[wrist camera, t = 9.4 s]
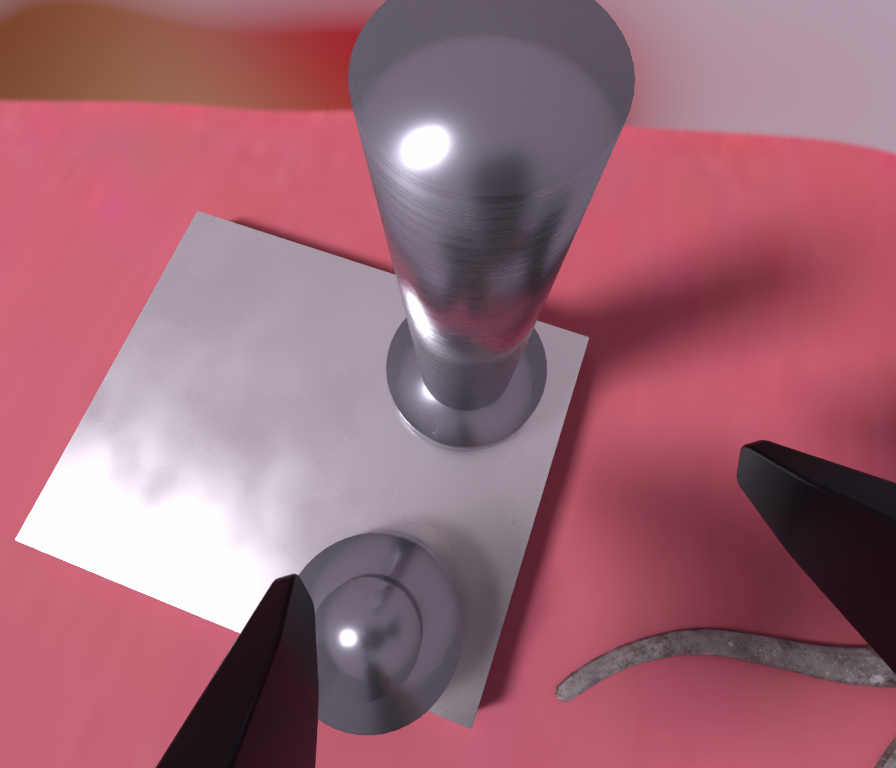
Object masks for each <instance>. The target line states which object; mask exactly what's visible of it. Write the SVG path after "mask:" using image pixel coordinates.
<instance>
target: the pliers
mask: <svg viewBox="0 0 896 768" xmlns="http://www.w3.org/2000/svg"><path fill="white" fill-rule="evenodd" d="M705 654H710V655H717V656H723V657H730V658H736V659H741V660H745V661H750V662H755V663H760V664H764V665H768V666H773V667H777V668H781V669H785V670H790V671H793V672H797V673H801V674H804V675H808V676H812V677H815V678H820V679H825V680H830V681H834V682H839V683H844V684H854V685H865V686H878V687H896V675H895V674H894V672H893V671H892V670H891V669H890V668H889V667H888V666H887V665H886V663H885V662H884V661H883V660H882V659H881V658H880V657H879V655H878V654H877V653H876V652H875V651H874V650H873V649H872V647H871V646H865V647H838V646H827V645H819V644H810V643H804V642H798V641H792V640H786V639H780V638H774V637H768V636H762V635H756V634H750V633H743V632H737V631H729V630H716V629H692V630H678V631H672V632H667V633H663V634H658V635H654V636H649V637H646V638H643V639H640V640H637V641H634V642H631V643H628V644H625V645H622V646H619V647H617V648H615V649H613V650H611V651H609V652H607V653H605V654H603V655H601V656H598V657H596V658H594V659H592V660H591V661H589V662H588V663H586V664H585V665H583V666H582V667H580V668H579V669H577V670H576V671H574V672H573V673H571V674H570V675H569V676H568V677H566V678H565V679H564V680H563V681H562V682H561V683H560V684H558V685H557V688H556V693H555V694H556V696H557V698H558V699H559V700H561V701H565V702H568V701H570V700H571V699H573V698H575V697H576V696H578V695H579V694H581V693H583V692H584V691H586V690H588V689H589V688H591V687H592V686H594V685H595V684H597V683H598V682H600V681H601V680H603V679H605V678H607V677H609V676H611V675H613V674H615V673H617V672H620V671H622V670H624V669H626V668H628V667H631V666H634V665H638V664H641V663H645V662H648V661H651V660H655V659H660V658H666V657H672V656H677V655H705ZM875 768H896V737H895V738H894V739H893V741H892V742H891V743H890V745H889V746H888V748H887V749H886V750H885V752H884V753H883V755H882V756H881V757H880V759H879V761H878V762H877V764H876V766H875Z"/></svg>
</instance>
